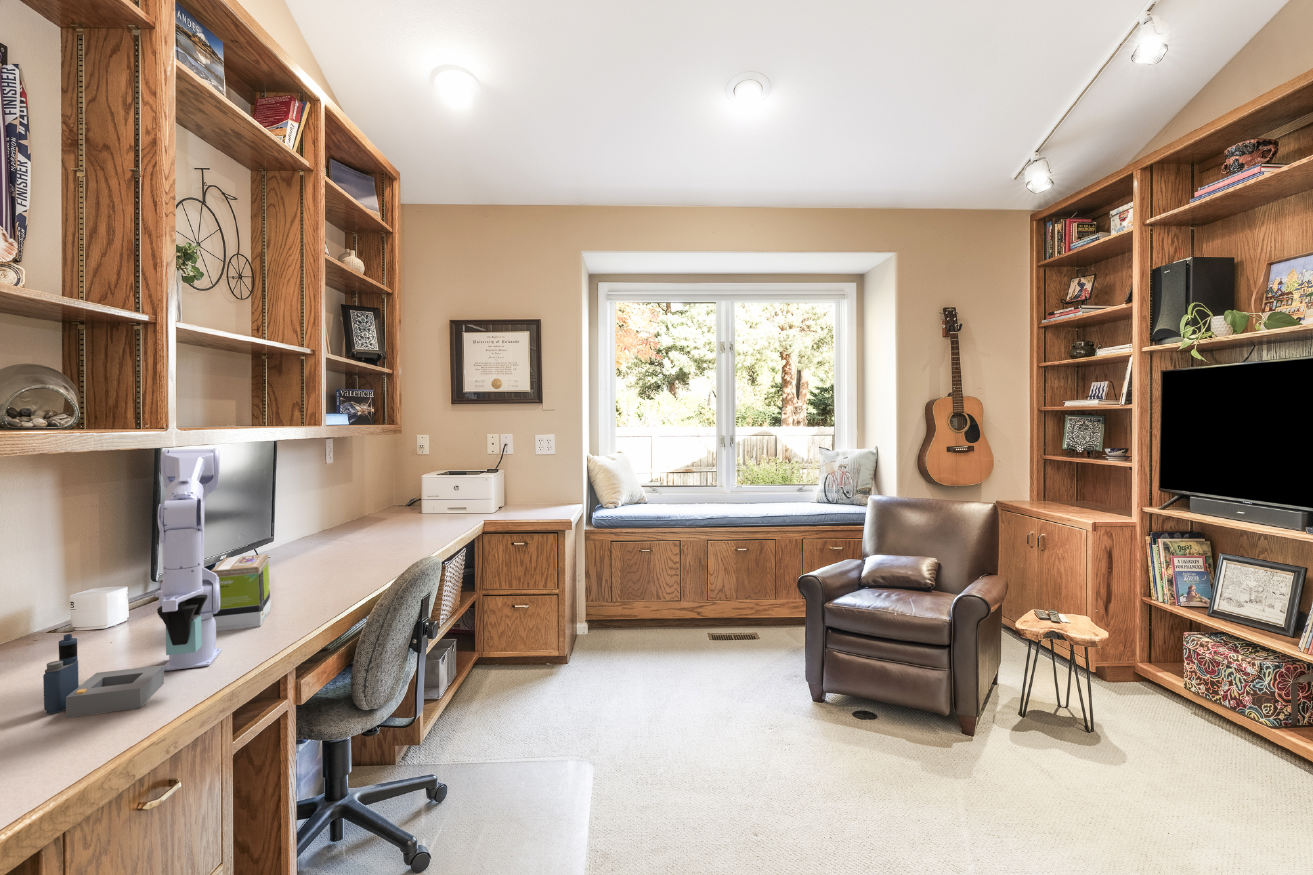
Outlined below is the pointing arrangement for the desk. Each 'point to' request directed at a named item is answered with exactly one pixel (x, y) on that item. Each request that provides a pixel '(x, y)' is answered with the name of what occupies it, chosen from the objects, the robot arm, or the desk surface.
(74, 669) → the vaping device
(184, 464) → the robot arm
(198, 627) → the plug
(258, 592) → the tea box
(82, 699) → the socket
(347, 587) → the desk surface
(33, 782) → the desk surface
